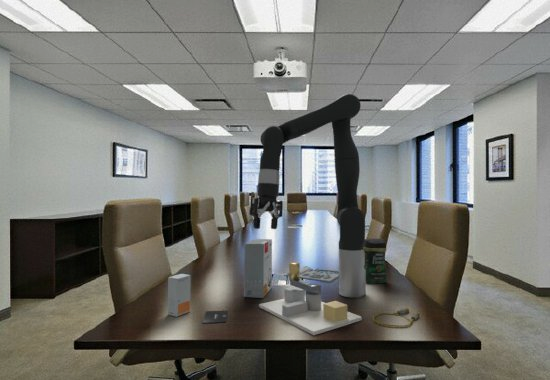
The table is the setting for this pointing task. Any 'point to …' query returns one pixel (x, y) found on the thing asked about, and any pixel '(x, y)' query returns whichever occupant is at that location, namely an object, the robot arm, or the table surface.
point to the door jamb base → (310, 311)
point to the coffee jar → (375, 260)
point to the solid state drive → (215, 317)
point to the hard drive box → (257, 267)
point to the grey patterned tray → (317, 274)
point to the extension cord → (401, 311)
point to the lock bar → (295, 280)
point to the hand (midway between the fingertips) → (265, 228)
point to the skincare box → (179, 294)
